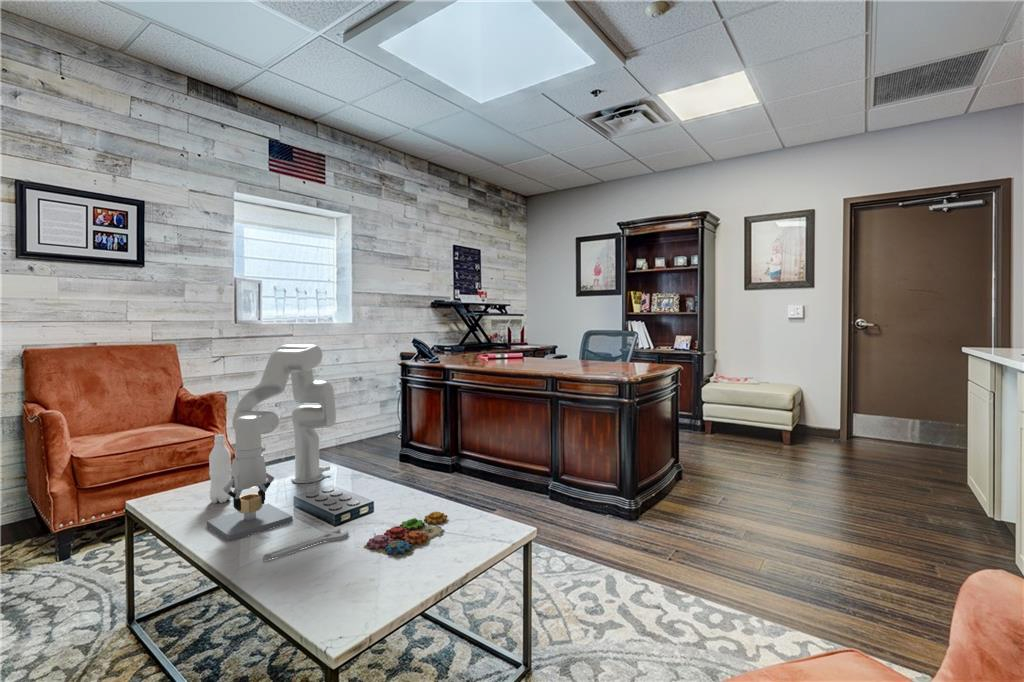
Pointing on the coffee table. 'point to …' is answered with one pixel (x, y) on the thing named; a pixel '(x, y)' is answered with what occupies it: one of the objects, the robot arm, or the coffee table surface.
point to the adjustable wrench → (308, 543)
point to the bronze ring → (250, 503)
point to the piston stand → (248, 522)
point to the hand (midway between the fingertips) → (249, 505)
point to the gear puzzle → (407, 536)
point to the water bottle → (219, 470)
